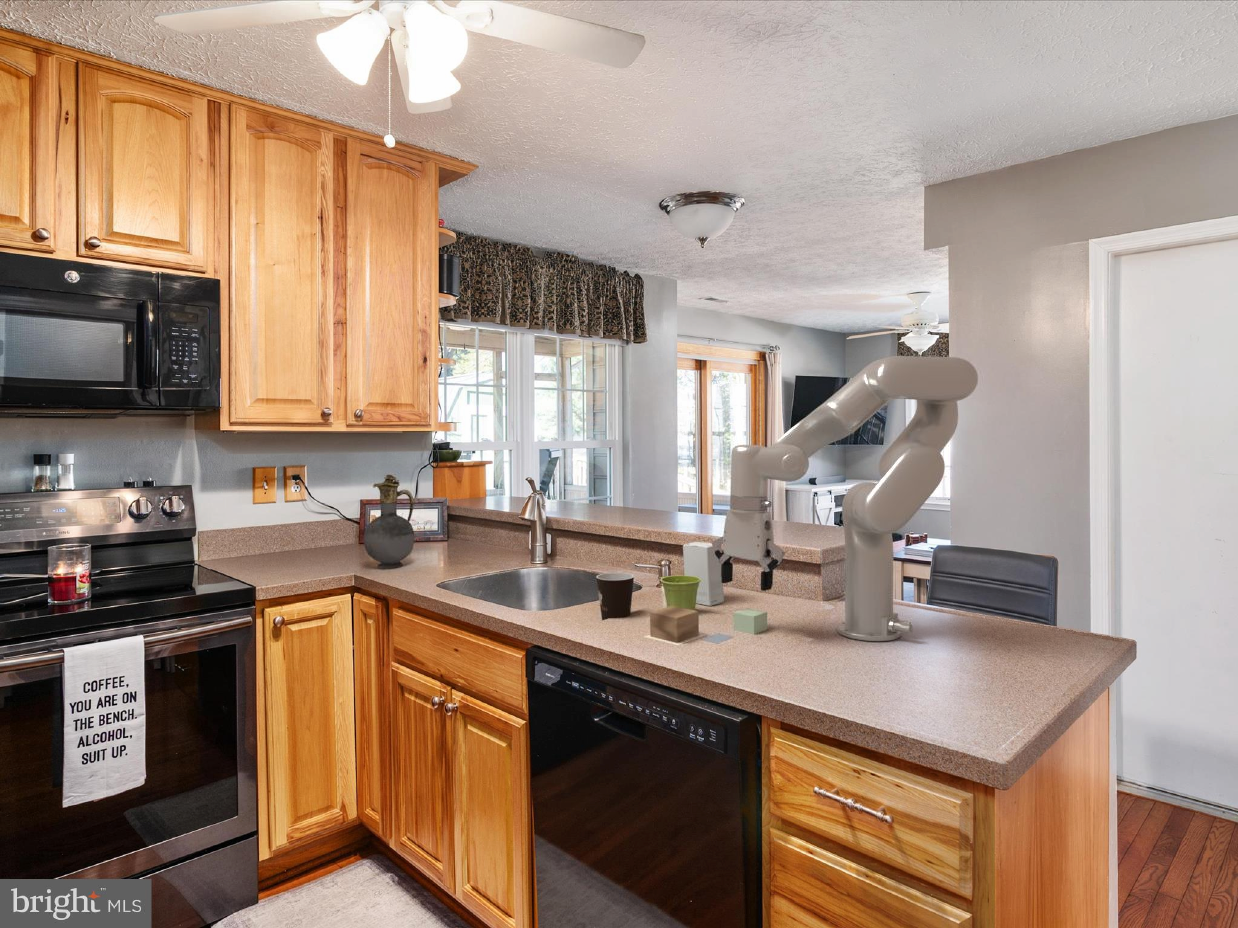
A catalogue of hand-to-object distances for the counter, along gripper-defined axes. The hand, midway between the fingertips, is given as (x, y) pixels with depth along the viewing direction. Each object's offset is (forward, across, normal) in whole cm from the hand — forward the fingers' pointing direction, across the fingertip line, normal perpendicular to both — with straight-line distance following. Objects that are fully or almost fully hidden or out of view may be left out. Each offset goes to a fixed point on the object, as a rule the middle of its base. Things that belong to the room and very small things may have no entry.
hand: (746, 585), depth 152 cm
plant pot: (+11, +20, -4) cm, 23 cm away
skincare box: (+11, +24, -18) cm, 32 cm away
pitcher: (+14, +131, +7) cm, 132 cm away
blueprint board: (+11, +7, +12) cm, 18 cm away
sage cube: (+10, -1, -1) cm, 11 cm away
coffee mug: (+12, +30, +7) cm, 33 cm away
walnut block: (+10, +8, +13) cm, 18 cm away
